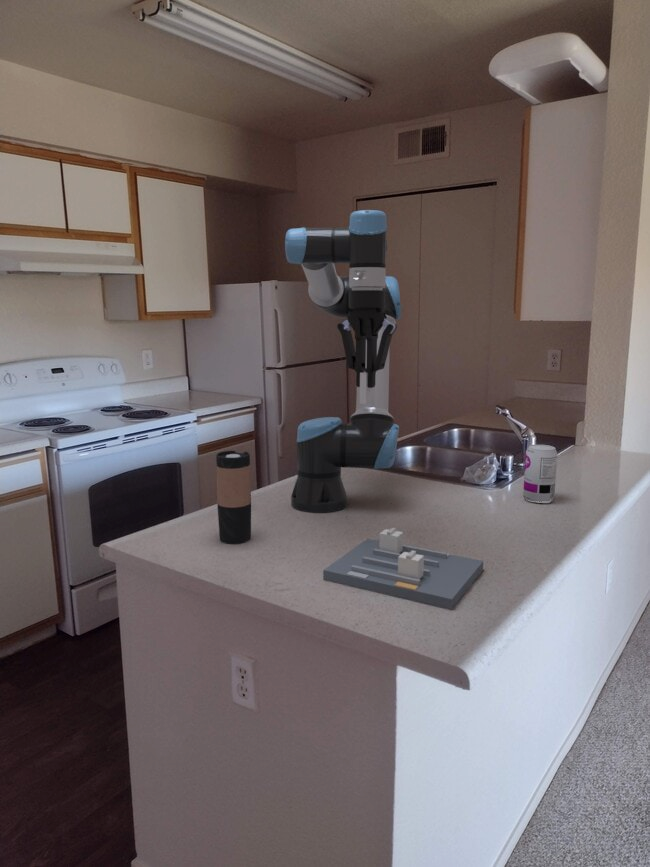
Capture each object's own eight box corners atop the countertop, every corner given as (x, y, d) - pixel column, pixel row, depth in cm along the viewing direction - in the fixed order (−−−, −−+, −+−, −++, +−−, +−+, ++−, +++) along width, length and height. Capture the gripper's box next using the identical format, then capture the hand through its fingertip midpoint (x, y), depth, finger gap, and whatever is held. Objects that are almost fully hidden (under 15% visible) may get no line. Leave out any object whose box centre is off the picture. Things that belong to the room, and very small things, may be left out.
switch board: (323, 579, 127) (323, 565, 126) (367, 547, 144) (367, 534, 143) (451, 609, 114) (452, 593, 114) (483, 570, 131) (483, 556, 131)
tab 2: (397, 576, 122) (398, 554, 122) (403, 571, 125) (404, 548, 124) (417, 581, 120) (418, 557, 120) (423, 575, 123) (424, 552, 122)
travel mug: (224, 546, 144) (222, 459, 140) (214, 536, 151) (211, 452, 147) (256, 541, 147) (255, 455, 143) (245, 530, 154) (243, 449, 150)
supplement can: (521, 502, 176) (525, 449, 173) (524, 494, 184) (527, 443, 181) (553, 506, 173) (557, 451, 170) (554, 497, 181) (558, 445, 178)
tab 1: (379, 551, 135) (379, 530, 134) (385, 546, 138) (385, 526, 137) (397, 555, 133) (397, 533, 132) (402, 550, 136) (403, 529, 135)
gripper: (330, 289, 133) (330, 402, 138) (388, 288, 127) (386, 407, 132) (347, 290, 140) (346, 398, 144) (403, 289, 133) (400, 402, 138)
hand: (365, 402), depth 138 cm, fingers closed
